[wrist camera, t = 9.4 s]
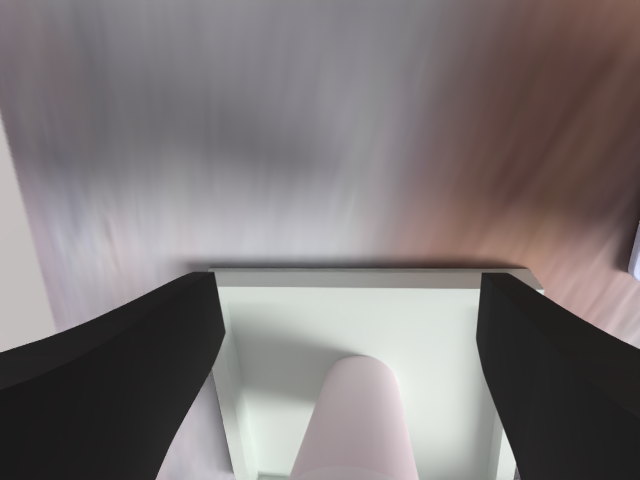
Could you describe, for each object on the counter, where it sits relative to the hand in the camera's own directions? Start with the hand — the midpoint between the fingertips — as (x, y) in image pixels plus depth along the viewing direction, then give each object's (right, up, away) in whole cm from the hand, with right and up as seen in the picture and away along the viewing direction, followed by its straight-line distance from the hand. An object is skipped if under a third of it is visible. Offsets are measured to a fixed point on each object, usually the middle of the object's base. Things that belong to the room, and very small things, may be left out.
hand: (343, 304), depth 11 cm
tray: (+2, -6, +11) cm, 12 cm away
